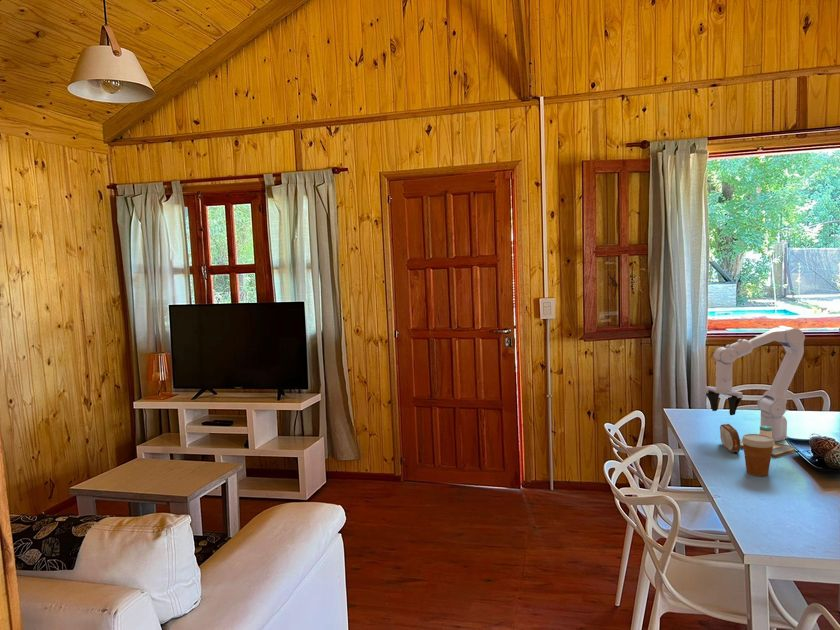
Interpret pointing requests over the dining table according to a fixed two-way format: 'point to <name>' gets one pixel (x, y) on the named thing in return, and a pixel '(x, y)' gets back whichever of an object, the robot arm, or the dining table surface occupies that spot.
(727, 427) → the tin
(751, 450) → the disposable coffee cup
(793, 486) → the dining table surface
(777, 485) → the dining table surface
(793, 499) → the dining table surface
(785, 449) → the slate board
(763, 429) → the beige cylinder
